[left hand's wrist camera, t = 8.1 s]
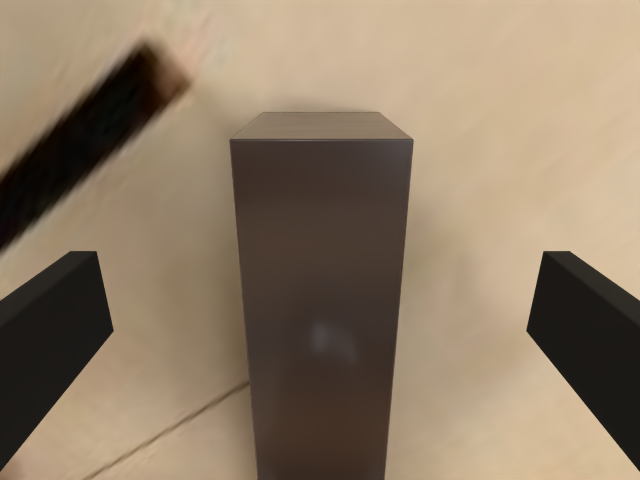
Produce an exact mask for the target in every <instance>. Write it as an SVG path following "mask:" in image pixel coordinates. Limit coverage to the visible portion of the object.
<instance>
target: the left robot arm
mask: <svg viewBox="0 0 640 480" xmlns="http://www.w3.org/2000/svg"><path fill="white" fill-rule="evenodd" d="M113 331H114V330H113V325H112V321H111V316H110V312H109V307H108V302H107V298H106V293H105V288H104V284H103V279H102V275H101V270H100V265H99V261H98V256H97V251H70V252H69V253H67V254H66V255H64V256H63V257H62V258H60V259H59V260H57V261H56V262H54V263H53V264H52V265H50V266H49V267H47V268H46V269H45V270H43V271H42V272H40V273H39V274H37V275H36V276H35V277H33V278H32V279H30V280H29V281H28V282H26V283H25V284H23V285H22V286H20V287H19V288H18V289H16V290H15V291H13V292H12V293H11V294H9V295H8V296H6V297H5V298H3V299H2V300H1V301H0V471H1V470H2V469H3V468H4V466H5V465H6V464H7V463H8V461H9V460H10V459H11V458H12V456H13V455H14V454H15V453H16V452H17V450H18V449H19V448H20V447H21V445H22V444H23V443H24V442H25V440H26V439H27V438H28V437H29V435H30V434H31V433H32V432H33V430H34V429H35V428H36V427H37V425H38V424H39V423H40V422H41V421H42V419H43V418H44V417H45V416H46V414H47V413H48V412H49V411H50V409H51V408H52V407H53V406H54V404H55V403H56V402H57V401H58V399H59V398H60V397H61V396H62V394H63V393H64V392H65V391H66V389H67V388H68V387H69V386H70V385H71V383H72V382H73V381H74V380H75V378H76V377H77V376H78V375H79V373H80V372H81V371H82V370H83V368H84V367H85V366H86V365H87V363H88V362H89V361H90V360H91V358H92V357H93V356H94V355H95V354H96V352H97V351H98V350H99V349H100V347H101V346H102V345H103V344H104V342H105V341H106V340H107V339H108V337H109V336H110V335H111V334H112V332H113ZM526 331H527V332H528V334H529V335H530V336H531V337H532V339H533V340H534V341H535V342H536V344H537V345H538V346H539V347H540V349H541V350H542V351H543V352H544V354H545V355H546V356H547V357H548V358H549V360H550V361H551V362H552V363H553V365H554V366H555V367H556V368H557V370H558V371H559V372H560V373H561V375H562V376H563V377H564V378H565V380H566V381H567V382H568V383H569V385H570V386H571V387H572V388H573V389H574V391H575V392H576V393H577V394H578V396H579V397H580V398H581V399H582V401H583V402H584V403H585V404H586V406H587V407H588V408H589V409H590V411H591V412H592V413H593V414H594V416H595V417H596V418H597V419H598V421H599V422H600V423H601V424H602V425H603V427H604V428H605V429H606V430H607V432H608V433H609V434H610V435H611V437H612V438H613V439H614V440H615V442H616V443H617V444H618V445H619V447H620V448H621V449H622V450H623V452H624V453H625V454H626V455H627V456H628V458H629V459H630V460H631V461H632V463H633V464H634V465H635V466H636V468H637V469H638V470H639V471H640V301H639V300H638V299H637V298H635V297H634V296H632V295H631V294H629V293H628V292H627V291H625V290H624V289H622V288H621V287H620V286H618V285H617V284H615V283H614V282H612V281H611V280H610V279H608V278H607V277H605V276H604V275H603V274H601V273H600V272H598V271H597V270H595V269H594V268H593V267H591V266H590V265H588V264H587V263H586V262H584V261H583V260H581V259H580V258H578V257H577V256H576V255H574V254H573V253H571V252H570V251H543V256H542V261H541V265H540V270H539V275H538V279H537V284H536V288H535V293H534V298H533V302H532V307H531V312H530V316H529V321H528V325H527V330H526Z"/></svg>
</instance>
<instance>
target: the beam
mask: <svg viewBox="0 0 640 480" xmlns="http://www.w3.org/2000/svg"><path fill="white" fill-rule="evenodd" d="M413 142H414V141H413V139H412V138H411V137H409V136H408V135H407V134H406V133H404V132H403V131H402V130H401V129H399V128H398V127H397V126H396V125H394V124H393V123H392V122H391V121H389V120H388V119H387V118H386V117H384V116H383V115H382V114H381V113H379V112H263V113H262V114H261V115H259V116H258V117H257V118H256V119H254V120H253V121H252V122H251V123H249V124H248V125H247V126H246V127H245V128H243V129H242V130H241V131H240V132H238V133H237V134H236V135H235V136H234V137H232V138H231V139H230V153H231V165H232V177H233V189H234V201H235V213H236V225H237V237H238V249H239V261H240V273H241V285H242V297H243V309H244V321H245V333H246V345H247V357H248V369H249V381H250V393H251V405H252V417H253V429H254V441H255V453H256V465H257V477H258V480H384V479H385V467H386V456H387V444H388V432H389V421H390V409H391V398H392V386H393V374H394V363H395V351H396V339H397V328H398V316H399V305H400V293H401V281H402V270H403V258H404V247H405V235H406V223H407V212H408V200H409V188H410V177H411V165H412V154H413Z"/></svg>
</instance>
